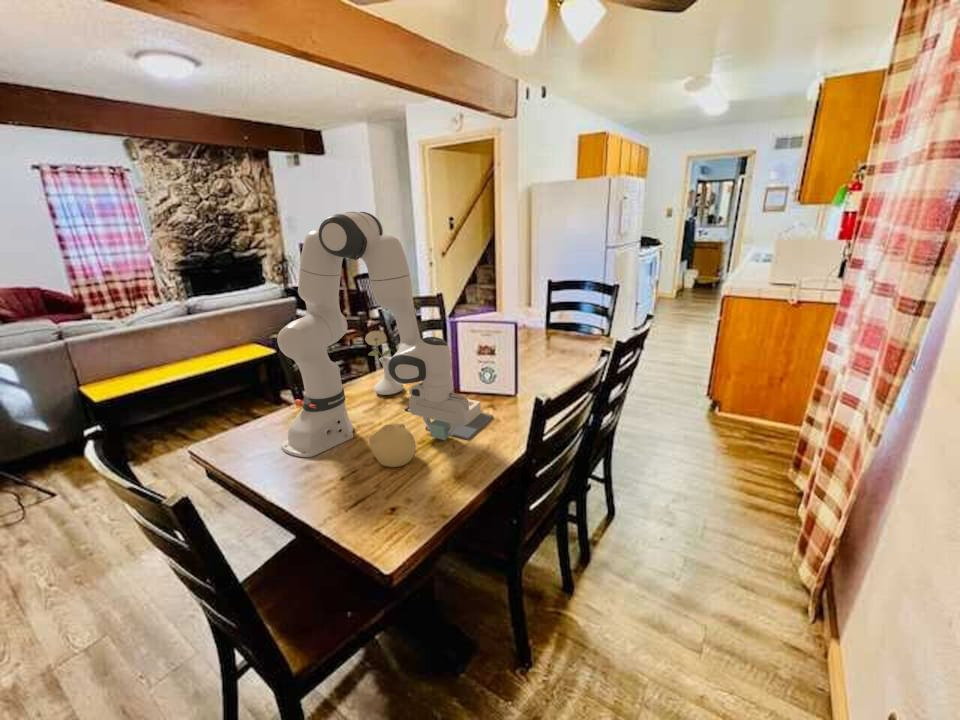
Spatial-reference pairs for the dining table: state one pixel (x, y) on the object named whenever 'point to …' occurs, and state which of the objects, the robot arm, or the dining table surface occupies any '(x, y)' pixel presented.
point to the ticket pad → (472, 421)
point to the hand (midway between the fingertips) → (440, 431)
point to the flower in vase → (387, 383)
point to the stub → (439, 429)
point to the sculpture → (393, 445)
